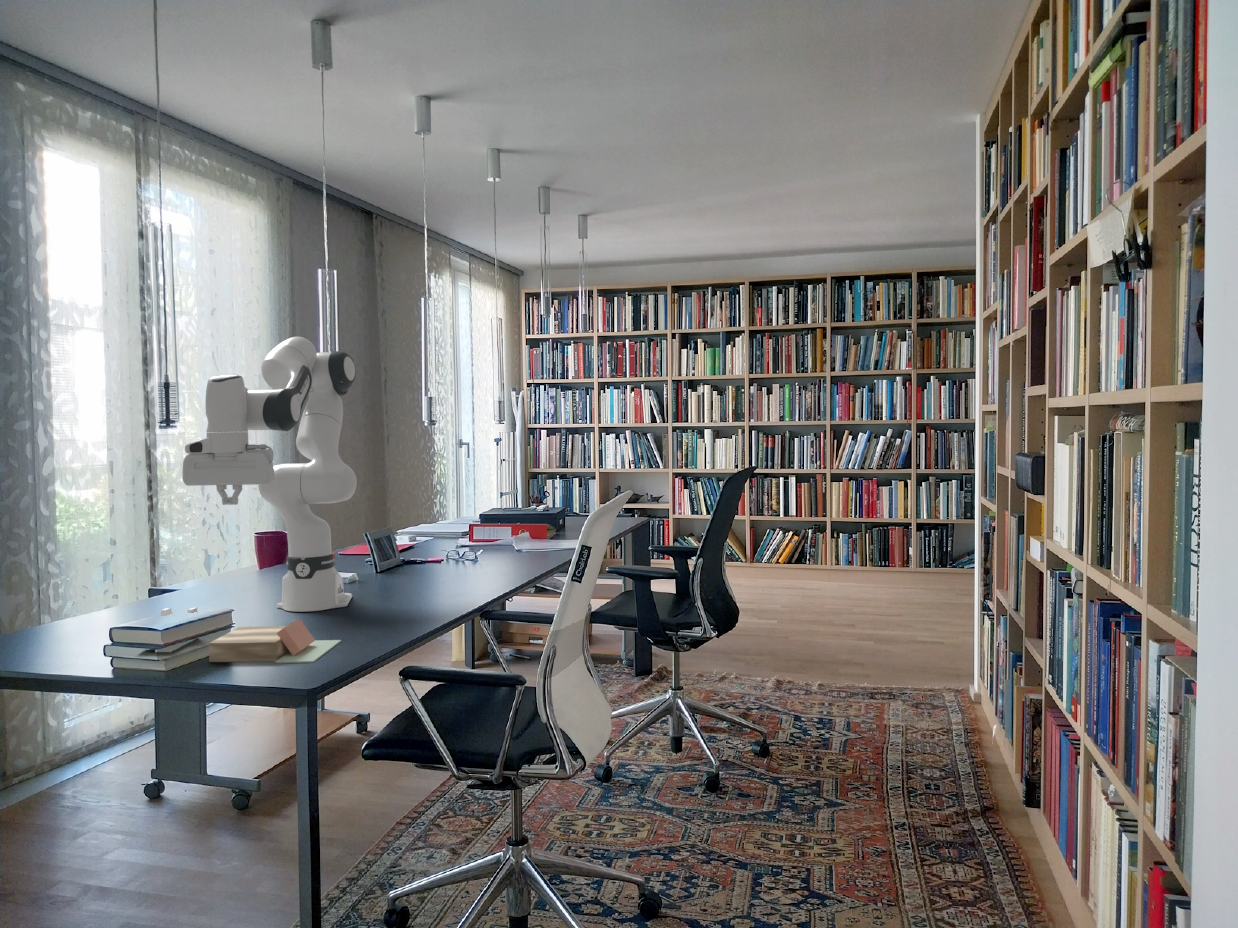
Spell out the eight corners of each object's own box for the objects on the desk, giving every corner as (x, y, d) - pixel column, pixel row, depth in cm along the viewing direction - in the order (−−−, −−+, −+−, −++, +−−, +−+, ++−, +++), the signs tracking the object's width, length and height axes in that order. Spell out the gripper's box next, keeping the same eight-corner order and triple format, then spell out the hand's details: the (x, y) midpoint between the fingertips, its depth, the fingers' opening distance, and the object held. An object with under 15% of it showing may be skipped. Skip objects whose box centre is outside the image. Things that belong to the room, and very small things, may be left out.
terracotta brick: (292, 623, 201) (299, 618, 200) (308, 645, 201) (315, 640, 201) (276, 633, 192) (284, 627, 191) (293, 655, 192) (300, 650, 192)
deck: (240, 644, 204) (239, 626, 204) (301, 643, 204) (301, 625, 204) (209, 662, 189) (208, 643, 189) (276, 661, 189) (275, 642, 189)
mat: (306, 641, 205) (306, 640, 205) (341, 641, 205) (341, 639, 205) (275, 662, 187) (275, 661, 187) (313, 662, 187) (313, 661, 187)
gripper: (278, 443, 211) (280, 502, 212) (191, 445, 212) (193, 504, 212) (267, 444, 205) (269, 505, 206) (177, 446, 205) (180, 506, 206)
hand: (230, 504), depth 209 cm, fingers closed
